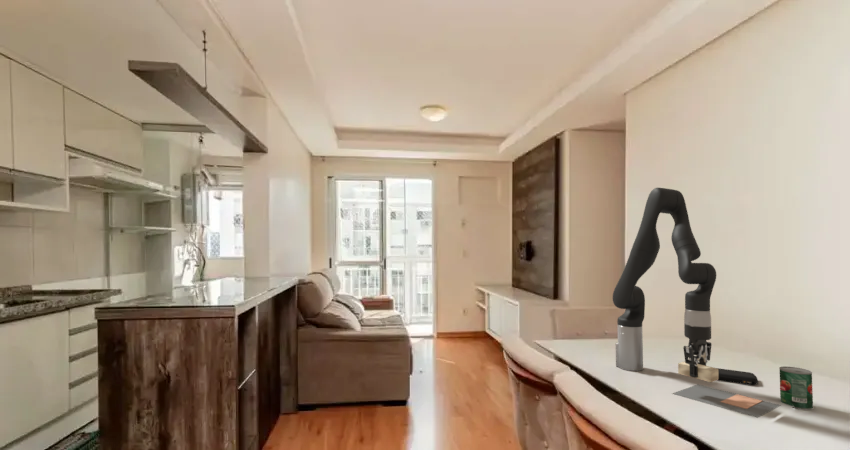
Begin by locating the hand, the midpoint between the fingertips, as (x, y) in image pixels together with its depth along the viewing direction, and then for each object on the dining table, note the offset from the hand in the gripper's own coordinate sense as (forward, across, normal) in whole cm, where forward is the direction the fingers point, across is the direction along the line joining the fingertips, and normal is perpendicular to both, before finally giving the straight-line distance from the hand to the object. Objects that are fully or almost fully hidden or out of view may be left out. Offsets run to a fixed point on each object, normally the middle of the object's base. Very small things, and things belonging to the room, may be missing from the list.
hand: (697, 375), depth 143 cm
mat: (+7, -4, +6) cm, 10 cm away
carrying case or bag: (+8, -32, -2) cm, 33 cm away
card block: (0, 0, 0) cm, 0 cm away
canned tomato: (+7, -19, +20) cm, 29 cm away
